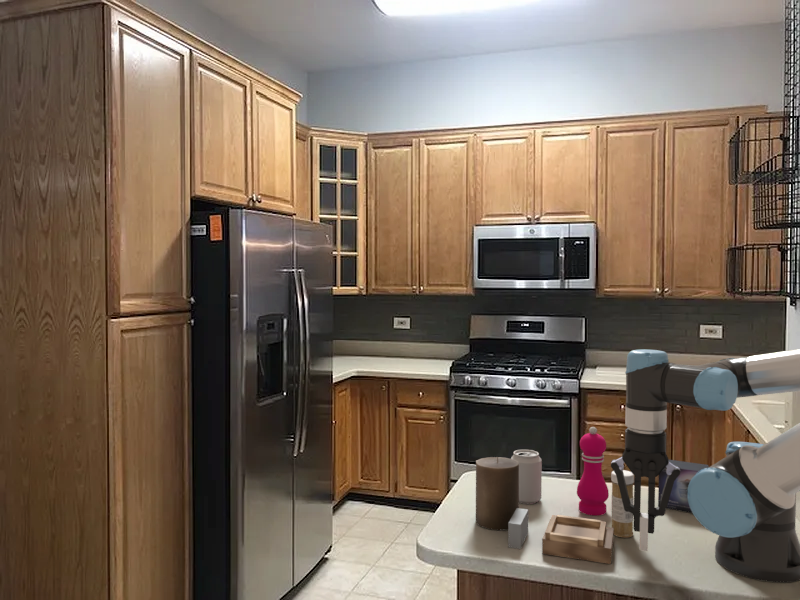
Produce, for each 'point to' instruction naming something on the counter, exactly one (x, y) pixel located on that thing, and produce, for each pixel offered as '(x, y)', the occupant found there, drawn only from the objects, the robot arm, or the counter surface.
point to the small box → (679, 484)
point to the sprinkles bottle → (620, 517)
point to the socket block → (578, 539)
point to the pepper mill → (592, 475)
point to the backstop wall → (518, 528)
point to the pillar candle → (496, 492)
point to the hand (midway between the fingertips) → (643, 547)
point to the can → (529, 475)
